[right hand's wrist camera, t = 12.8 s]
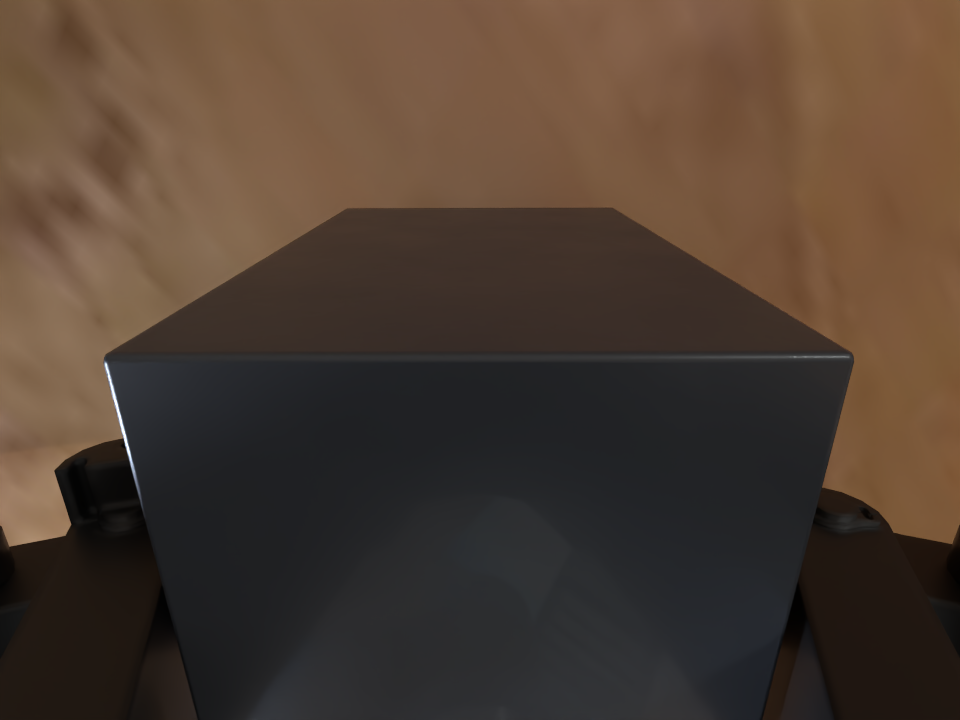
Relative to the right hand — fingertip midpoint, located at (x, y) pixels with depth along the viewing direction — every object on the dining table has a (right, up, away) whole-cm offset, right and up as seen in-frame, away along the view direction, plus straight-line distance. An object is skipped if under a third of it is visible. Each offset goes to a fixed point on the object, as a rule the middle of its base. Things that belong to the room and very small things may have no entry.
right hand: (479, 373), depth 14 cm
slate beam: (0, -13, +5) cm, 14 cm away
